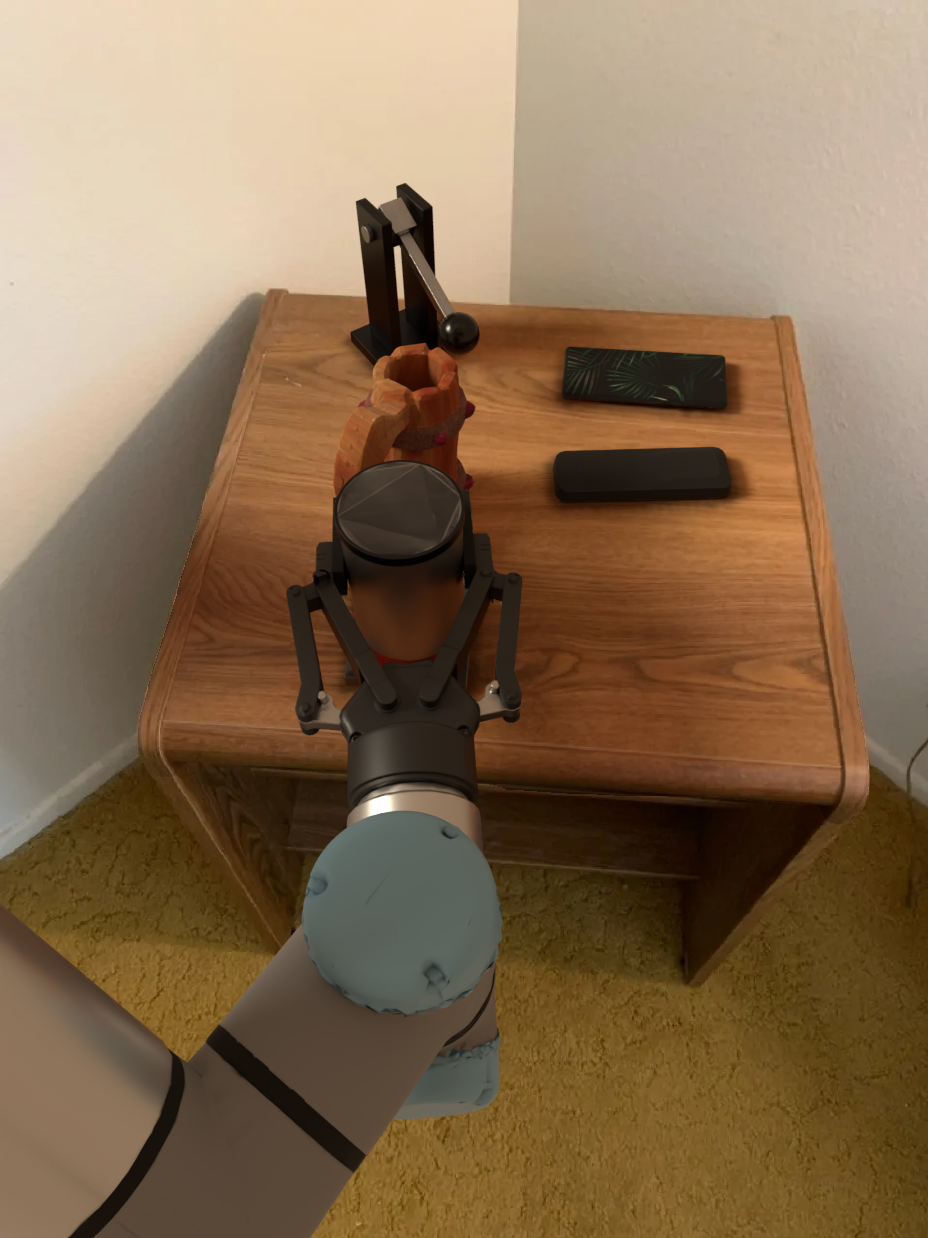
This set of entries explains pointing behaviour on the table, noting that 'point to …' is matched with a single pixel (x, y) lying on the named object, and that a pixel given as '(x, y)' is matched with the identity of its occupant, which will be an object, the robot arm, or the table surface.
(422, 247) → the switch
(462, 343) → the lever
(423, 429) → the mug
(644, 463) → the remote control
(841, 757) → the table surface
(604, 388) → the smartphone
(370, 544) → the lidded metal tumbler
